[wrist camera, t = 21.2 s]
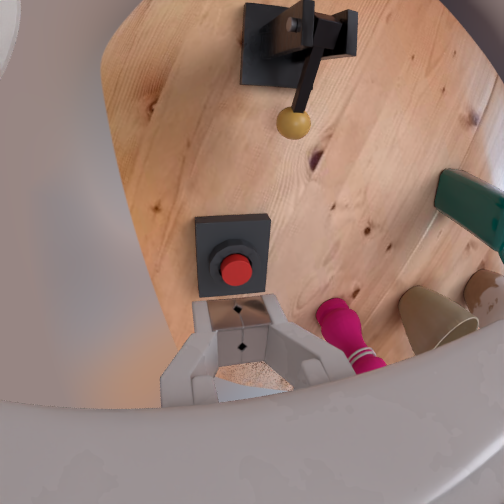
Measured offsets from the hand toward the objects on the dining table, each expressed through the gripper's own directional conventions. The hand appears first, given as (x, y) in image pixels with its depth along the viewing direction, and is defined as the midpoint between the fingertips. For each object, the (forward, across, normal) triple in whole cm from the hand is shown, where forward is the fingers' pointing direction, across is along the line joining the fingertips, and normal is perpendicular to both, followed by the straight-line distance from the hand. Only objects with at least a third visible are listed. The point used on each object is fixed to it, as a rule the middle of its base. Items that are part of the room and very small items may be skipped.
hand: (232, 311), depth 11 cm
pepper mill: (+29, -24, +29) cm, 48 cm away
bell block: (+30, -5, +15) cm, 34 cm away
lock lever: (+21, -10, -10) cm, 25 cm away
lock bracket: (+30, -10, -14) cm, 34 cm away
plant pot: (+29, -45, +30) cm, 62 cm away
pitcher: (+29, -46, +5) cm, 55 cm away
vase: (+29, -71, +30) cm, 83 cm away
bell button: (+26, -5, +15) cm, 30 cm away
